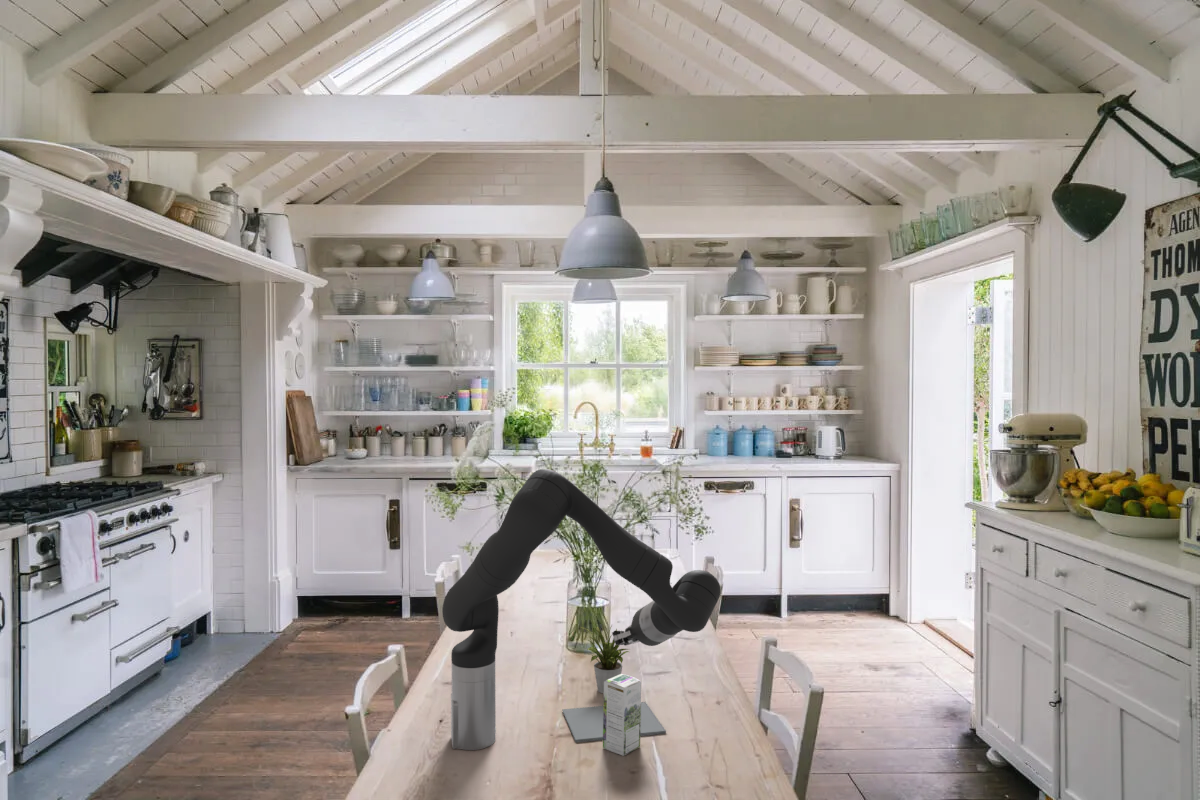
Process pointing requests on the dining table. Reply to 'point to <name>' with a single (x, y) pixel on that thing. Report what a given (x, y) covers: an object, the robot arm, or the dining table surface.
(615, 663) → the house plant
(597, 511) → the robot arm
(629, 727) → the syrup box
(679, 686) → the dining table surface
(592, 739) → the rubber mat
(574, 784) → the dining table surface
